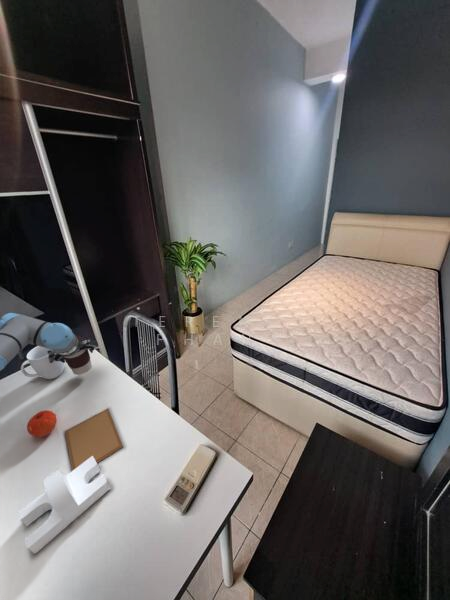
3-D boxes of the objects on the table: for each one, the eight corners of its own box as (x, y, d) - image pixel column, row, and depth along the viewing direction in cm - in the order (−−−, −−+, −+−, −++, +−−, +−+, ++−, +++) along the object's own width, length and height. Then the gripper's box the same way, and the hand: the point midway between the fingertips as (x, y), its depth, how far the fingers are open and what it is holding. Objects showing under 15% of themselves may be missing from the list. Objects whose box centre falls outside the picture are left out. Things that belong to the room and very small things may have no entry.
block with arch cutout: (96, 462, 74) (84, 441, 68) (110, 488, 68) (99, 467, 62) (24, 517, 63) (3, 497, 57) (34, 554, 57) (11, 536, 51)
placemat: (65, 431, 83) (64, 431, 83) (108, 409, 91) (107, 408, 90) (74, 478, 70) (73, 477, 70) (123, 447, 78) (122, 446, 77)
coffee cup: (66, 369, 105) (53, 341, 98) (90, 358, 111) (80, 330, 104) (73, 381, 99) (60, 352, 92) (99, 368, 105) (88, 340, 98)
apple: (45, 444, 80) (35, 428, 76) (27, 438, 82) (16, 423, 78) (65, 422, 87) (57, 406, 83) (47, 417, 89) (38, 402, 85)
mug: (27, 391, 100) (12, 367, 94) (30, 375, 108) (16, 352, 102) (69, 376, 107) (57, 352, 100) (68, 361, 115) (57, 339, 109)
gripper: (30, 367, 80) (49, 374, 99) (104, 342, 90) (108, 352, 109) (24, 346, 81) (44, 356, 100) (97, 323, 91) (103, 337, 111)
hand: (77, 354), depth 105 cm, fingers closed on coffee cup, 10 cm apart
